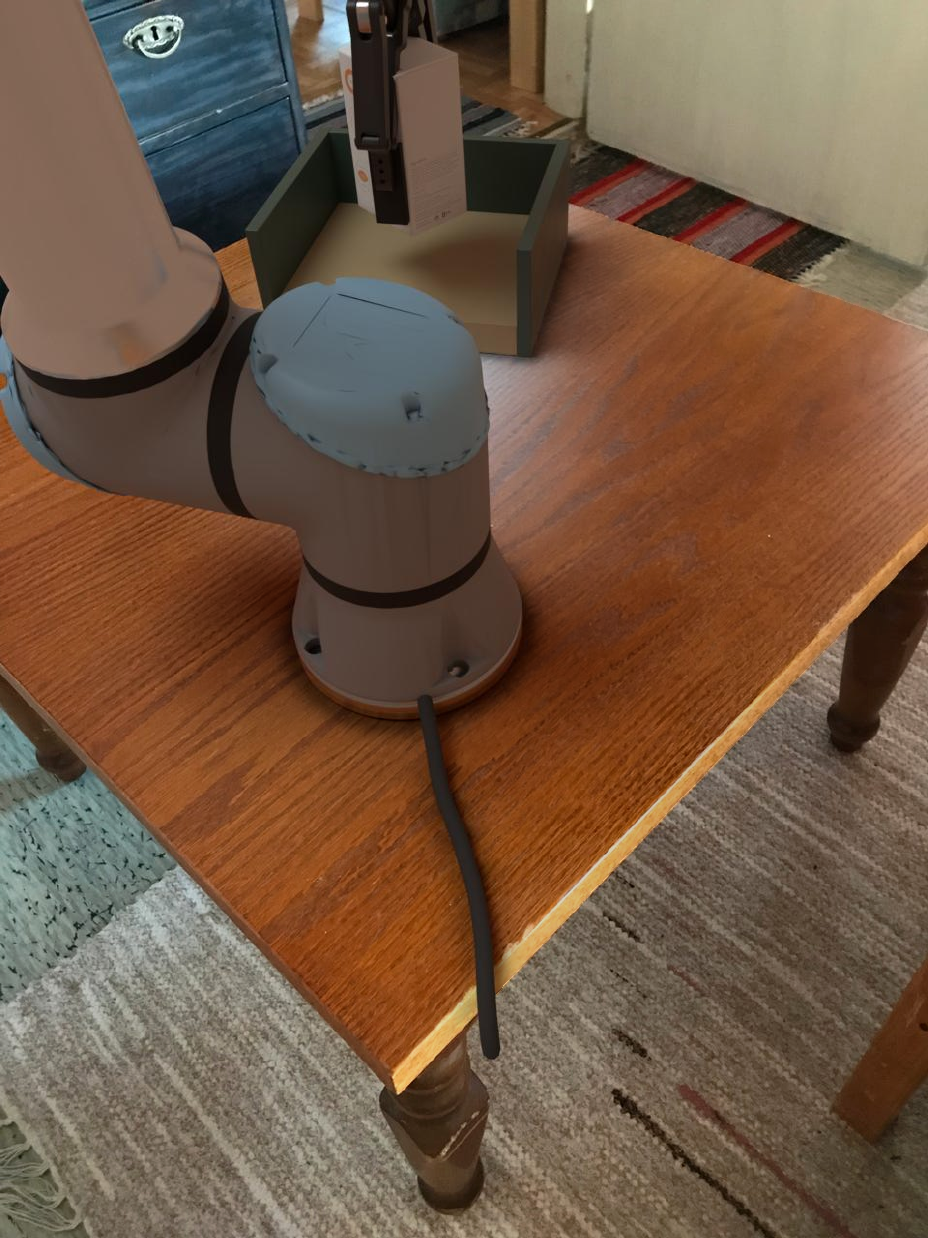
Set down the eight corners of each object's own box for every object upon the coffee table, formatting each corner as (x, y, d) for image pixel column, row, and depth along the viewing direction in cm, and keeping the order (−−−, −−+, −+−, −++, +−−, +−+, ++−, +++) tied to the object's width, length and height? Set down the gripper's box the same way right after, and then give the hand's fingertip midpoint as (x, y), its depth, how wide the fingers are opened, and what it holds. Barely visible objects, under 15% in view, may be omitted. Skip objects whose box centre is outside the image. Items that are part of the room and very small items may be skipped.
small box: (468, 213, 86) (460, 51, 76) (411, 239, 84) (395, 76, 74) (412, 182, 90) (398, 25, 80) (356, 206, 88) (334, 47, 78)
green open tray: (530, 357, 86) (530, 250, 79) (268, 332, 91) (244, 229, 83) (567, 241, 99) (570, 139, 91) (335, 224, 103) (320, 126, 96)
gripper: (386, -69, 61) (418, 262, 78) (467, -161, 75) (479, 137, 92) (273, -71, 63) (328, 255, 80) (373, -161, 76) (402, 133, 93)
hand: (409, 192), depth 86 cm, fingers closed on small box, 10 cm apart
